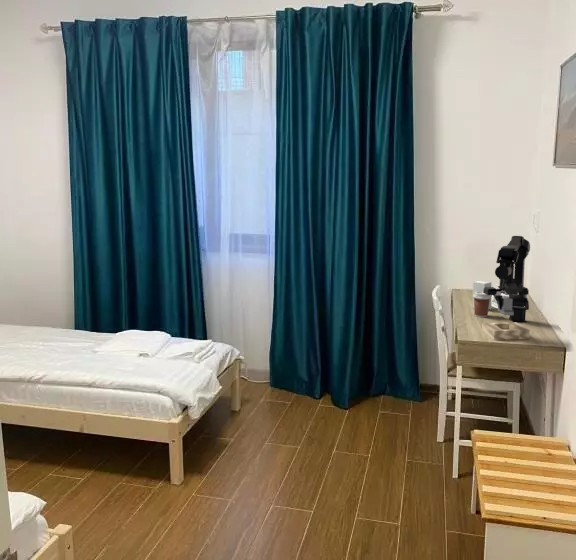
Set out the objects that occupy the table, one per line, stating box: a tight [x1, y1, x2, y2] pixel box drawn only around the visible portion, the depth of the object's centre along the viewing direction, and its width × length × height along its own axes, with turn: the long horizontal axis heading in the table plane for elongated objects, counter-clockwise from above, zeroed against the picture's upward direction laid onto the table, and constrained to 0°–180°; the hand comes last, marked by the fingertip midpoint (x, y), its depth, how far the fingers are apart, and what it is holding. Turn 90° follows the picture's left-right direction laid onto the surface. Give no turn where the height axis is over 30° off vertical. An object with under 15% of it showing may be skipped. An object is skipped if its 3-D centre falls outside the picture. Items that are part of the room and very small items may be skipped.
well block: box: [481, 321, 531, 341], centre depth 276 cm, size 16×14×4 cm
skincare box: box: [472, 280, 492, 311], centre depth 327 cm, size 8×6×15 cm
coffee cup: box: [472, 292, 492, 318], centre depth 312 cm, size 9×9×12 cm
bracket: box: [497, 295, 514, 316], centre depth 275 cm, size 4×8×7 cm, turn 3°
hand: (504, 309), depth 276 cm, fingers closed on bracket, 4 cm apart
